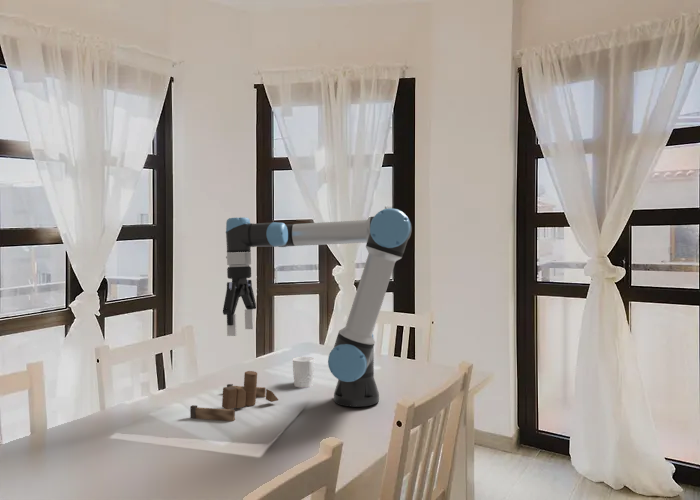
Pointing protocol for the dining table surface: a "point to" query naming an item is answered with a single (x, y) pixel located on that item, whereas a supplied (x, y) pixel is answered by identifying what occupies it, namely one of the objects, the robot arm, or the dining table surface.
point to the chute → (220, 413)
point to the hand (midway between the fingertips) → (241, 332)
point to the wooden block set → (244, 393)
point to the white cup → (303, 371)
